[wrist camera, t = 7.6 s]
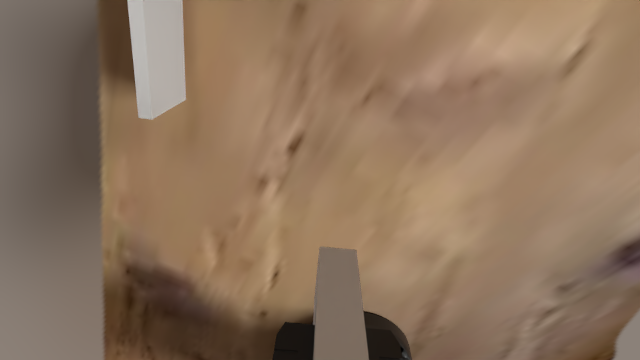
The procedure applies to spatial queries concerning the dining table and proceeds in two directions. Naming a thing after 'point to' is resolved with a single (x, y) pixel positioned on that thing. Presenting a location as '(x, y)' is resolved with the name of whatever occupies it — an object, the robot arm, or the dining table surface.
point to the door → (157, 55)
